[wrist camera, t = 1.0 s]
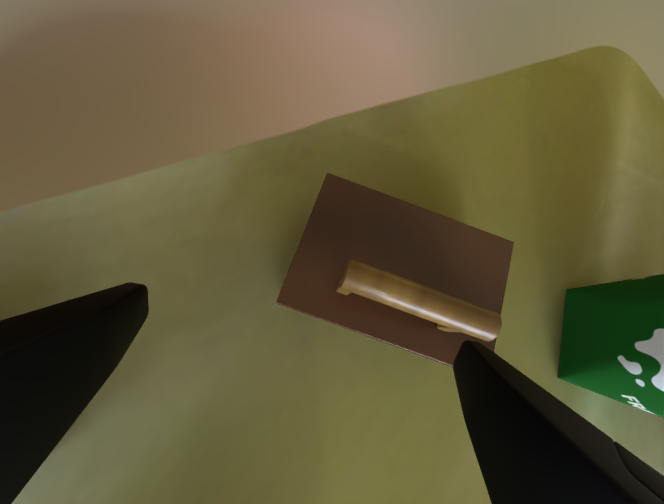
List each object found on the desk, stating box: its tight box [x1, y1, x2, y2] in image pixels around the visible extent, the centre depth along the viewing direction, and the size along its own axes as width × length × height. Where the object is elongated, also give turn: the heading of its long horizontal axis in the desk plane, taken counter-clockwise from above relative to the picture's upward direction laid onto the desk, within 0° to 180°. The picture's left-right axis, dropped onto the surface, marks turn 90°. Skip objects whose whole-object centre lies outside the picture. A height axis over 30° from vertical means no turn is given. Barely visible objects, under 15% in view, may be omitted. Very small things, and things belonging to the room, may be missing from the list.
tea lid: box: [276, 173, 514, 367], centre depth 16 cm, size 8×12×5 cm
